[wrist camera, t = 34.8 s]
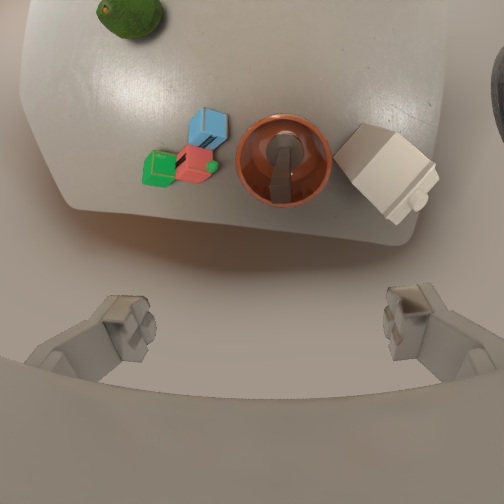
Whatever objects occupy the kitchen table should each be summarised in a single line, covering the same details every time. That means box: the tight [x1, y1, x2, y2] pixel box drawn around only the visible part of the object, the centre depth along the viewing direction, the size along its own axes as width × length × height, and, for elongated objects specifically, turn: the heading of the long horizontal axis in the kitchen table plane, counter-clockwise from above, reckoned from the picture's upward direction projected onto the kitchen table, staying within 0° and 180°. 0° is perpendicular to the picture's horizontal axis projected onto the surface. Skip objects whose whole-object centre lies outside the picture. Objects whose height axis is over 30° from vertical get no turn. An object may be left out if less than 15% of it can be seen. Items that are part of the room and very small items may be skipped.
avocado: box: [96, 0, 163, 39], centre depth 30 cm, size 8×8×12 cm
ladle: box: [266, 132, 304, 204], centre depth 32 cm, size 5×5×23 cm
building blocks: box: [142, 107, 228, 188], centre depth 41 cm, size 8×8×12 cm
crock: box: [236, 113, 332, 208], centre depth 38 cm, size 11×11×11 cm
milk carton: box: [333, 123, 439, 225], centre depth 33 cm, size 7×7×19 cm
